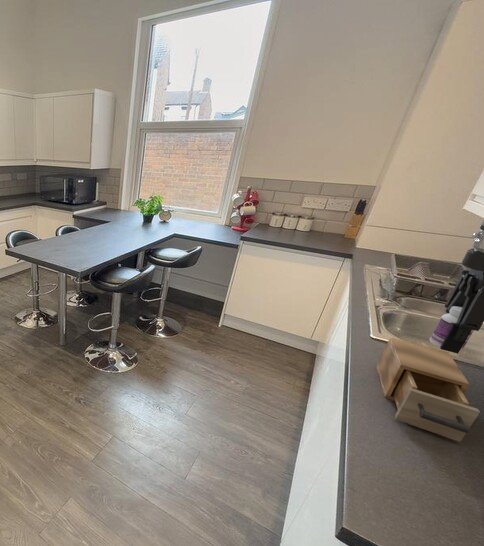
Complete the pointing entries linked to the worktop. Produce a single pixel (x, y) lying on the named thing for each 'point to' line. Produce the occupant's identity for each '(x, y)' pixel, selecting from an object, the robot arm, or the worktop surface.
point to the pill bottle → (446, 327)
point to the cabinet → (416, 365)
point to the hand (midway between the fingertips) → (445, 344)
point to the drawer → (433, 405)
